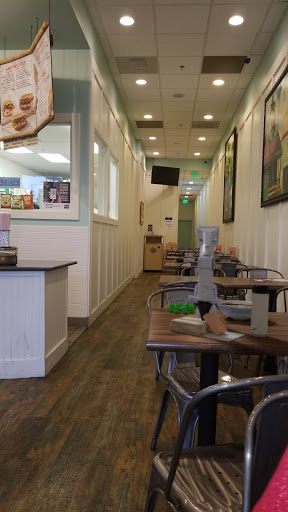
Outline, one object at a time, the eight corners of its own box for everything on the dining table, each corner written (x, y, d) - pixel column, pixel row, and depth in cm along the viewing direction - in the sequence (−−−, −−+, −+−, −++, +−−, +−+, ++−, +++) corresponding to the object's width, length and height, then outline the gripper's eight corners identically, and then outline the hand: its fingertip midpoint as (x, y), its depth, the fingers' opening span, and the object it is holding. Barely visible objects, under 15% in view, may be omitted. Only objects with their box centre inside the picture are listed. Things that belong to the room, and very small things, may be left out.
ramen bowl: (262, 316, 202) (262, 299, 202) (272, 325, 179) (272, 306, 179) (211, 313, 204) (212, 297, 204) (215, 322, 182) (216, 304, 181)
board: (188, 325, 172) (188, 316, 172) (217, 330, 164) (217, 320, 164) (169, 330, 161) (169, 320, 161) (199, 336, 153) (200, 325, 153)
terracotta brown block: (210, 315, 161) (213, 312, 160) (224, 333, 157) (227, 330, 156) (202, 316, 156) (205, 313, 155) (216, 335, 152) (220, 332, 151)
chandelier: (201, 312, 209) (202, 299, 208) (186, 316, 197) (187, 301, 196) (177, 308, 218) (177, 295, 217) (161, 311, 206) (161, 298, 205)
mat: (219, 331, 163) (219, 330, 163) (244, 335, 156) (244, 334, 156) (202, 336, 152) (202, 335, 152) (228, 341, 145) (228, 340, 145)
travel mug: (253, 337, 153) (256, 285, 153) (248, 333, 160) (250, 283, 159) (269, 337, 154) (272, 285, 153) (263, 333, 160) (265, 284, 160)
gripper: (184, 285, 161) (183, 319, 161) (216, 288, 151) (215, 324, 152) (193, 284, 166) (192, 316, 166) (225, 287, 157) (224, 322, 157)
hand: (204, 320), depth 160 cm, fingers closed
